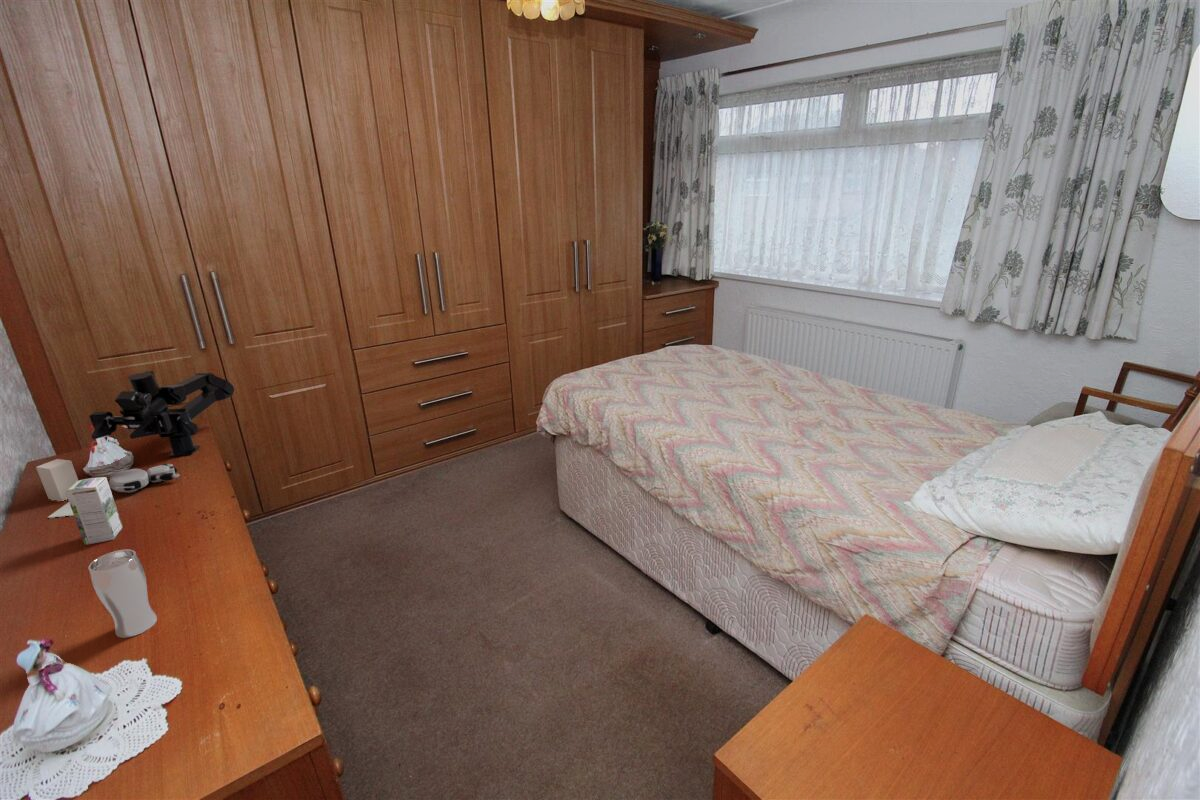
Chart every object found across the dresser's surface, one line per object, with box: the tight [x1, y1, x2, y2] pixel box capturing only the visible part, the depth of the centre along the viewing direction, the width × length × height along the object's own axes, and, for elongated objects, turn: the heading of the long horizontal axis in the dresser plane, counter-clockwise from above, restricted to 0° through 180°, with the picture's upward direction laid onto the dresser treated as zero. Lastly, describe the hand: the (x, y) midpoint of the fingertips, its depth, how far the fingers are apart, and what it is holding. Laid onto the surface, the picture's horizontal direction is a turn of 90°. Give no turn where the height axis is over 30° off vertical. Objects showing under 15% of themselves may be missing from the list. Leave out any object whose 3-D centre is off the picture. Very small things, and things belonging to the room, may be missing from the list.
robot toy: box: [108, 463, 181, 494], centre depth 154 cm, size 12×4×15 cm
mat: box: [47, 501, 74, 519], centre depth 142 cm, size 8×8×1 cm
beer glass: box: [87, 548, 158, 639], centre depth 99 cm, size 7×7×15 cm
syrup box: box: [66, 476, 124, 546], centre depth 128 cm, size 6×6×14 cm
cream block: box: [35, 458, 79, 502], centre depth 147 cm, size 5×5×10 cm
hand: (111, 437), depth 146 cm, fingers open, 9 cm apart
